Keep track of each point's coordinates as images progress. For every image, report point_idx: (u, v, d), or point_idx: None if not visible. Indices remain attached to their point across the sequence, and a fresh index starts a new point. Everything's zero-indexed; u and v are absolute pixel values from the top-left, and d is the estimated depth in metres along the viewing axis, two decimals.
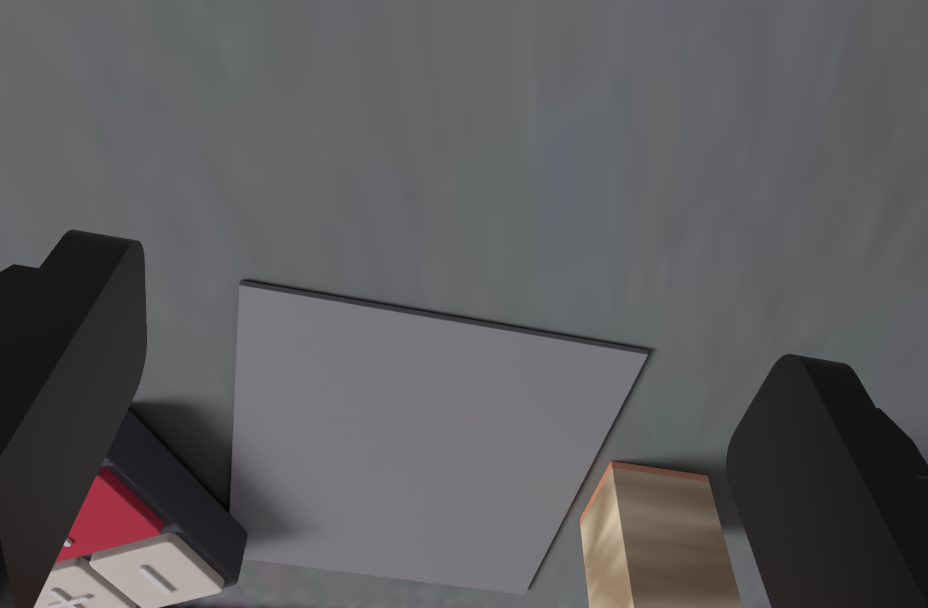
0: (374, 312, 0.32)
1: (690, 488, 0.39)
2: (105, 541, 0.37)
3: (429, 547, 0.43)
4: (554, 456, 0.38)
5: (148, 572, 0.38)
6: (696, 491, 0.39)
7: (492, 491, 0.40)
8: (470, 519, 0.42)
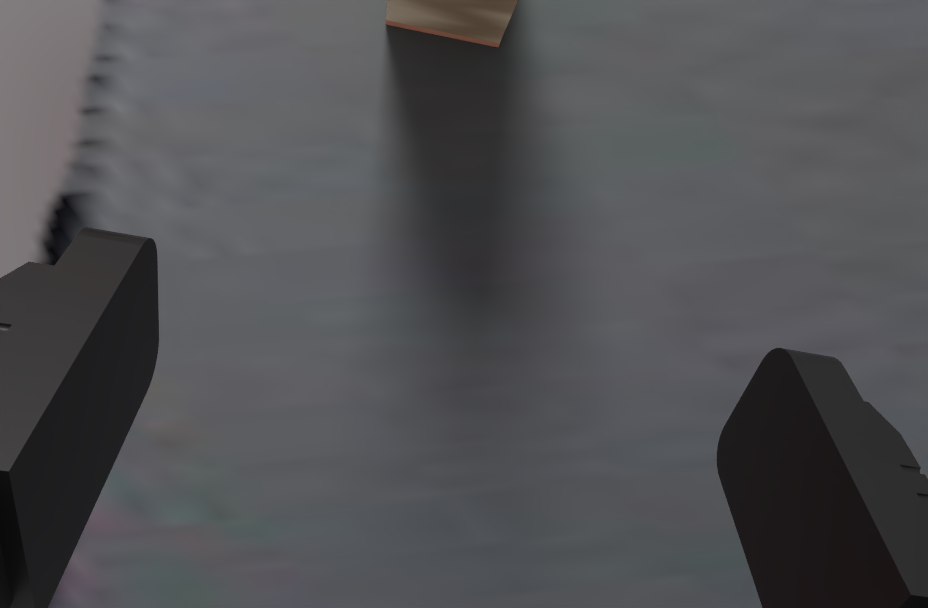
0: None
1: None
2: None
3: None
4: None
5: None
6: None
7: None
8: None
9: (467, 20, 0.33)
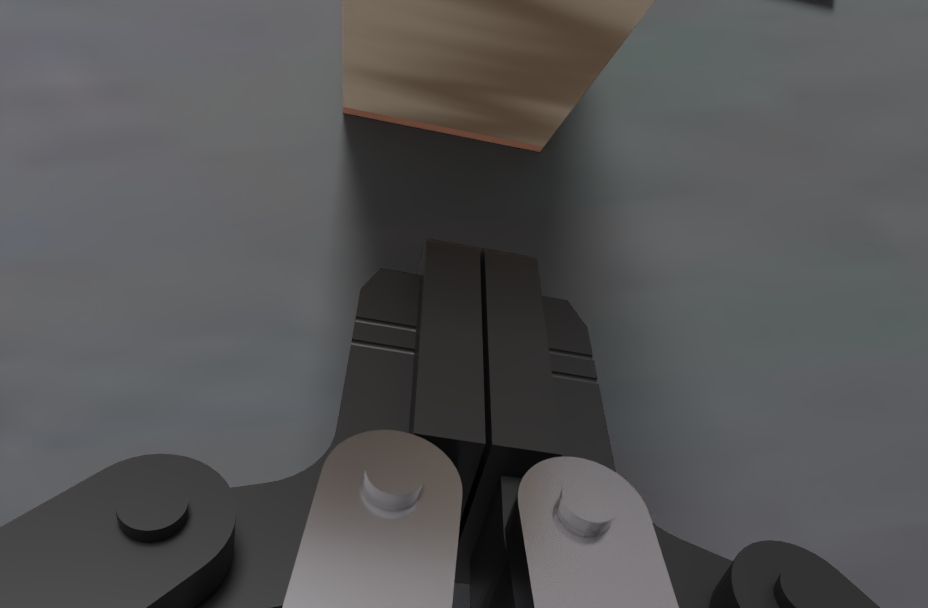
0: None
1: None
2: None
3: None
4: None
5: None
6: None
7: None
8: None
9: (489, 112, 0.18)
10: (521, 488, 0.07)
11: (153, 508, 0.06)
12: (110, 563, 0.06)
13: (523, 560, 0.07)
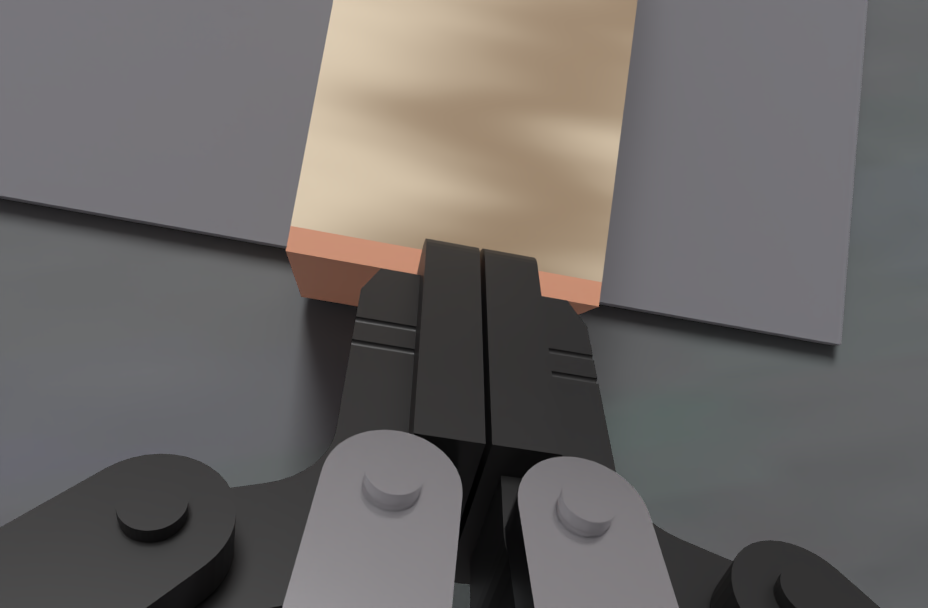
0: None
1: None
2: None
3: None
4: None
5: None
6: None
7: None
8: (307, 40, 0.18)
9: (514, 177, 0.13)
10: (521, 488, 0.07)
11: (153, 510, 0.06)
12: (110, 564, 0.06)
13: (523, 560, 0.07)
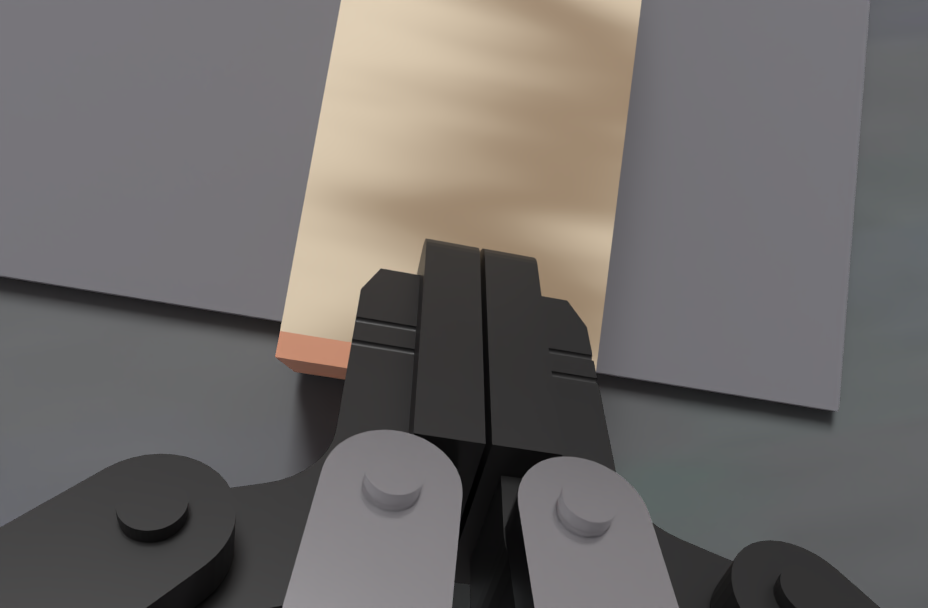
0: None
1: None
2: None
3: (173, 15, 0.18)
4: None
5: None
6: None
7: None
8: (300, 110, 0.18)
9: None
10: (522, 488, 0.07)
11: (153, 509, 0.06)
12: (110, 564, 0.06)
13: (524, 560, 0.07)
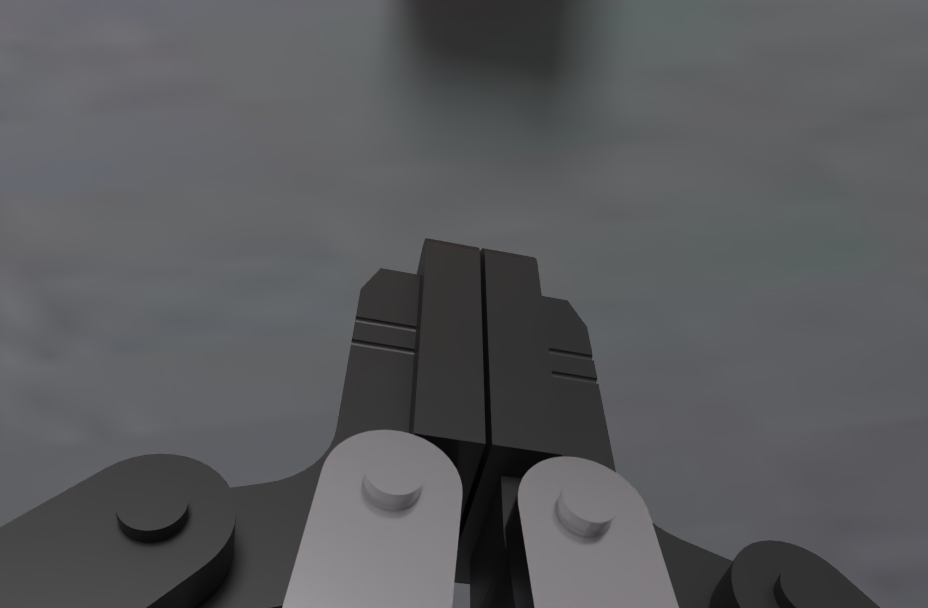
0: None
1: None
2: None
3: None
4: None
5: None
6: None
7: None
8: None
9: None
10: (522, 488, 0.07)
11: (153, 508, 0.06)
12: (110, 564, 0.06)
13: (524, 560, 0.07)
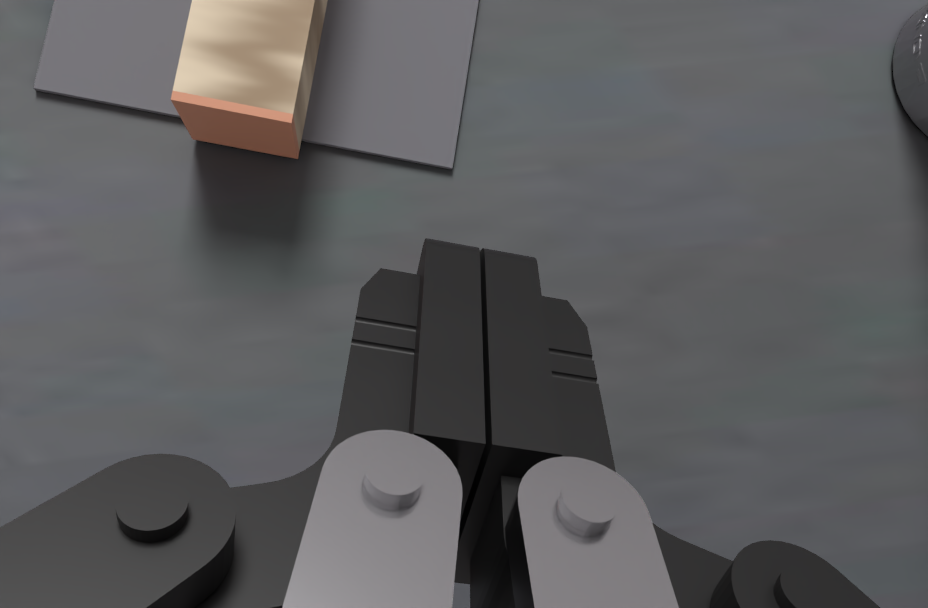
0: None
1: (296, 111, 0.35)
2: None
3: None
4: (309, 102, 0.39)
5: None
6: (297, 105, 0.35)
7: None
8: None
9: (260, 74, 0.34)
10: (521, 488, 0.07)
11: (153, 510, 0.06)
12: (110, 563, 0.06)
13: (524, 560, 0.07)
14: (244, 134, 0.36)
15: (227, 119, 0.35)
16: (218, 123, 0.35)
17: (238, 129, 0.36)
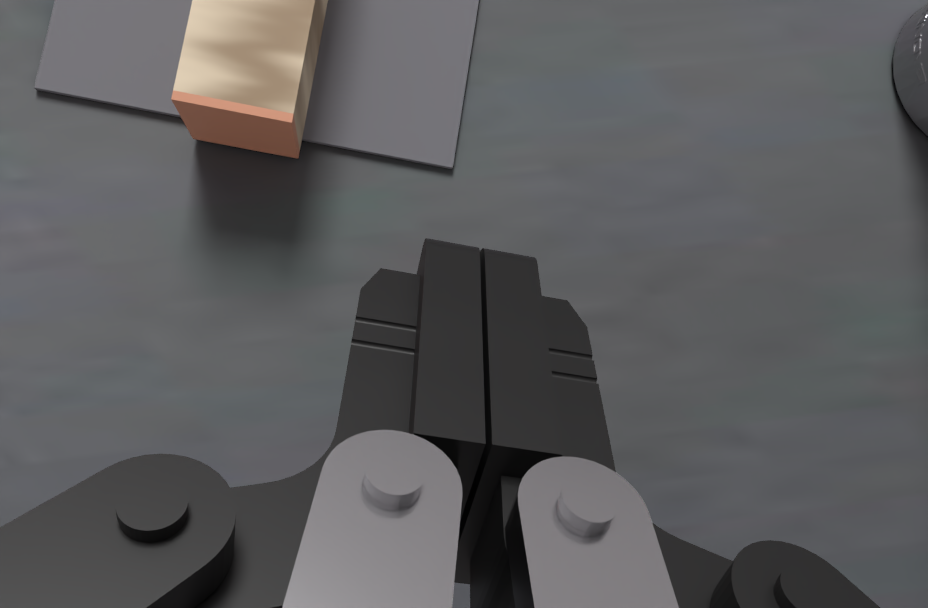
0: None
1: (297, 110, 0.35)
2: None
3: None
4: (310, 101, 0.39)
5: None
6: (297, 105, 0.35)
7: None
8: None
9: (260, 73, 0.34)
10: (521, 488, 0.07)
11: (153, 510, 0.06)
12: (111, 563, 0.06)
13: (523, 560, 0.07)
14: (245, 134, 0.36)
15: (228, 119, 0.35)
16: (219, 123, 0.35)
17: (239, 129, 0.36)
